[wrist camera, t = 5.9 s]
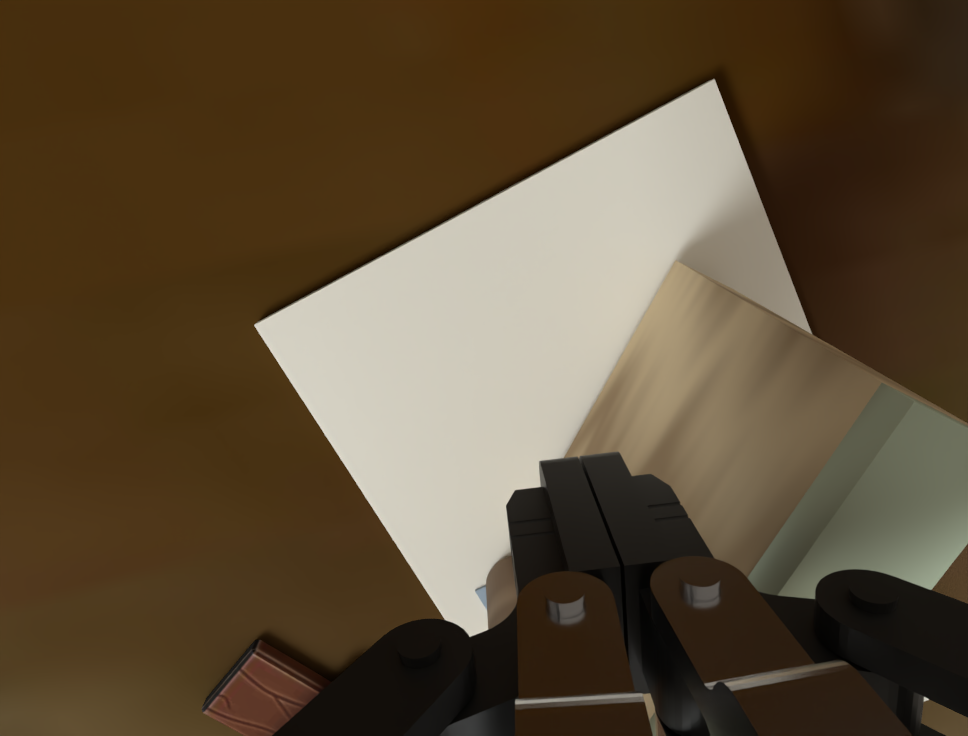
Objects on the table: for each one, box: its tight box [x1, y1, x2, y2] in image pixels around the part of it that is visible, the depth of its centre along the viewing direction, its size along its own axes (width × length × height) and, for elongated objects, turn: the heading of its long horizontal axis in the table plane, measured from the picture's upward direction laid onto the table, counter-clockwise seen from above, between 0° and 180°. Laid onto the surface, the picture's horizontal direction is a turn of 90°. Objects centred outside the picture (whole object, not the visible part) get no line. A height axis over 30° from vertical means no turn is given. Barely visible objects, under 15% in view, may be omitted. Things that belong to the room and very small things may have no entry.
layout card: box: [254, 79, 929, 701], centre depth 24 cm, size 24×15×1 cm, turn 27°
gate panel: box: [564, 260, 968, 736], centre depth 17 cm, size 10×2×12 cm, turn 154°
